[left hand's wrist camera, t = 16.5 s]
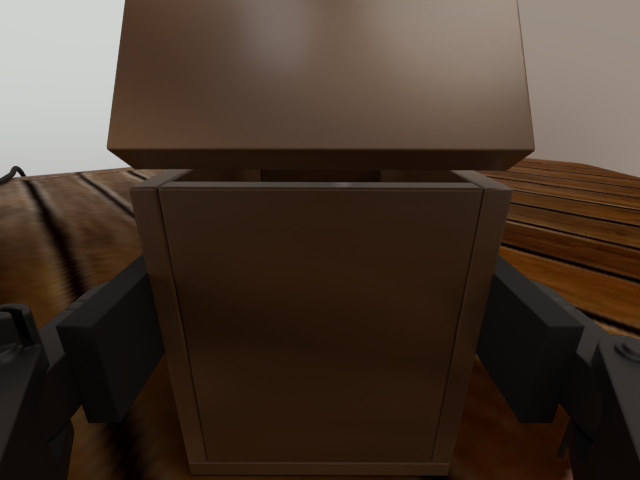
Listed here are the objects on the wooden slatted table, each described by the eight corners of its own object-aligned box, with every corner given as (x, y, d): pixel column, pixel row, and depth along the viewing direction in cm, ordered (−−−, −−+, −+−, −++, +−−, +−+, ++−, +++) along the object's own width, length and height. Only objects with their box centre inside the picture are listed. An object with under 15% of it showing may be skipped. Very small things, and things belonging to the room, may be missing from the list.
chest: (259, 274, 26) (249, 131, 22) (380, 274, 26) (391, 131, 22) (190, 475, 12) (127, 187, 8) (448, 476, 12) (514, 188, 8)
